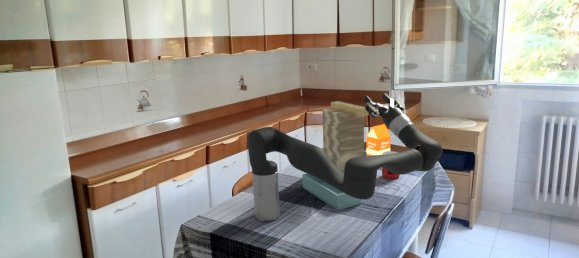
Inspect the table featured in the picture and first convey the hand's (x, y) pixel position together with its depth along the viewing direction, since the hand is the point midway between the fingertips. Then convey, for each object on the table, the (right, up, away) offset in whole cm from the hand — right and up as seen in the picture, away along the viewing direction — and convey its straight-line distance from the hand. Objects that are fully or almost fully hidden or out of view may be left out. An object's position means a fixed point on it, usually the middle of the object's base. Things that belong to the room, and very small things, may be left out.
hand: (374, 96), depth 158 cm
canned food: (+14, -34, +31) cm, 48 cm away
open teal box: (-16, -40, +12) cm, 44 cm away
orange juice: (+12, -30, +48) cm, 58 cm away
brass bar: (-7, -5, +17) cm, 19 cm away
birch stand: (-8, -36, +28) cm, 46 cm away
